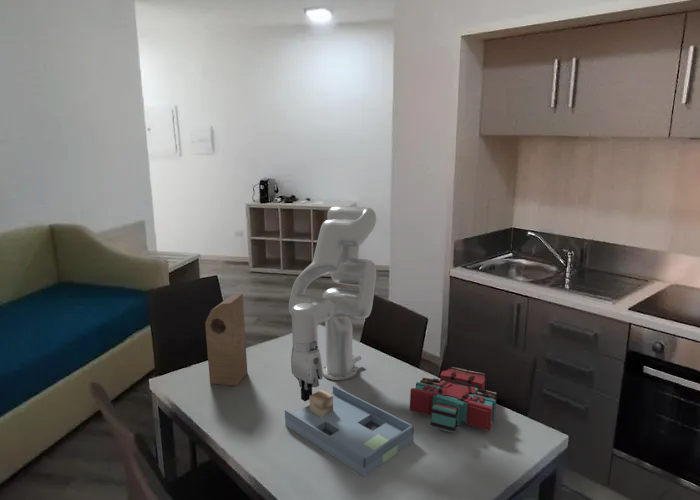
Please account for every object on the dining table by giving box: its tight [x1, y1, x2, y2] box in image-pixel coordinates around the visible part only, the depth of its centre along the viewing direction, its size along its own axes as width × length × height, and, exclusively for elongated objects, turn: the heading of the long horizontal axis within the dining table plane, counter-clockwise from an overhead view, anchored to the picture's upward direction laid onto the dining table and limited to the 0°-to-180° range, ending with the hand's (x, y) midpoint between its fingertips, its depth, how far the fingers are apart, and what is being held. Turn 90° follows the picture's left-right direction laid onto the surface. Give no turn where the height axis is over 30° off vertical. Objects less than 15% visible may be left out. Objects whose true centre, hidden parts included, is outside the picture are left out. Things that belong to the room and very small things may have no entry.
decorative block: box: [204, 293, 248, 387], centre depth 170 cm, size 10×10×30 cm
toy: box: [409, 366, 498, 434], centre depth 152 cm, size 24×9×30 cm
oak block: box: [309, 389, 333, 417], centre depth 148 cm, size 5×5×5 cm
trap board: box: [284, 385, 415, 477], centre depth 141 cm, size 20×32×5 cm, turn 45°
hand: (306, 398), depth 153 cm, fingers closed
